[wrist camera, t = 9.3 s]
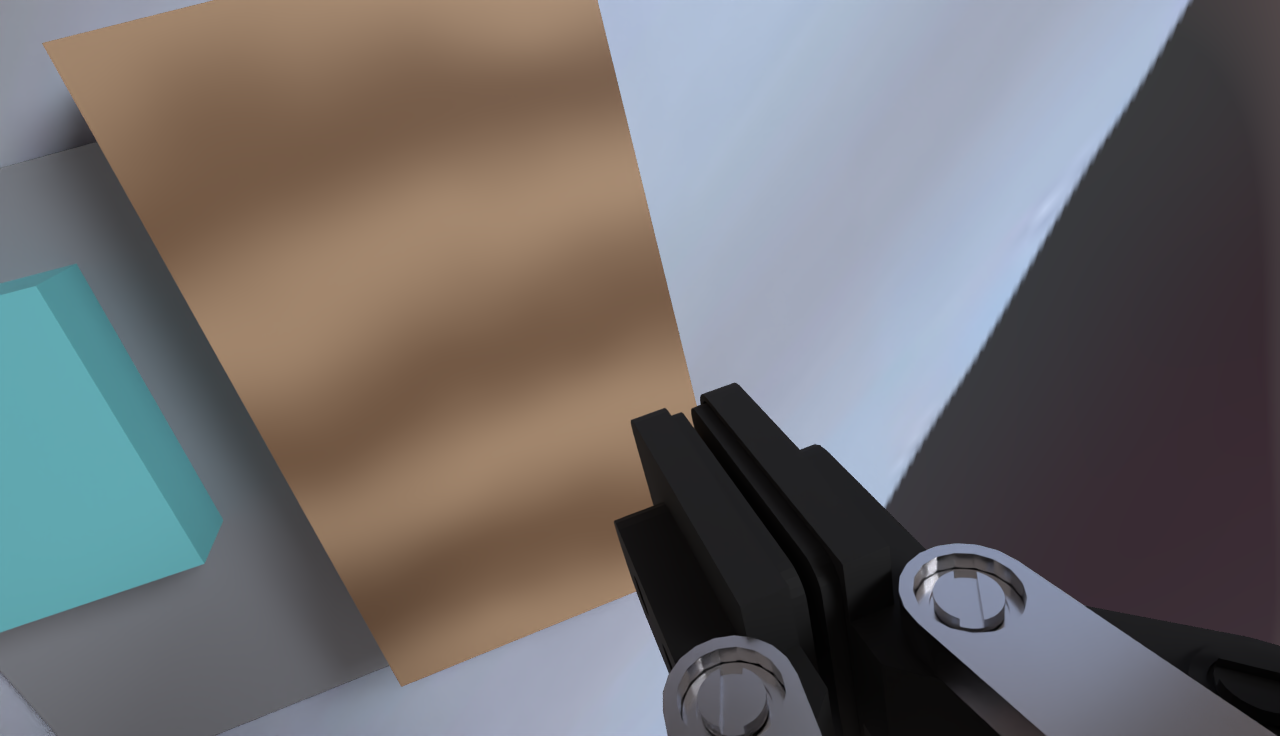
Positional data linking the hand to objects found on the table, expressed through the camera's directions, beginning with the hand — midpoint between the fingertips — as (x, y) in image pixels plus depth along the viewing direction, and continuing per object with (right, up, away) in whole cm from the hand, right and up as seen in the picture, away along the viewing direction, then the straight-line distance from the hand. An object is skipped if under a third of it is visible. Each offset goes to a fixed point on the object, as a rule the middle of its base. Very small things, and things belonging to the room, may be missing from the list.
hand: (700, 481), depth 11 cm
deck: (-7, +3, +13) cm, 15 cm away
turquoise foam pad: (-18, -1, +8) cm, 20 cm away
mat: (-18, -3, +12) cm, 22 cm away
